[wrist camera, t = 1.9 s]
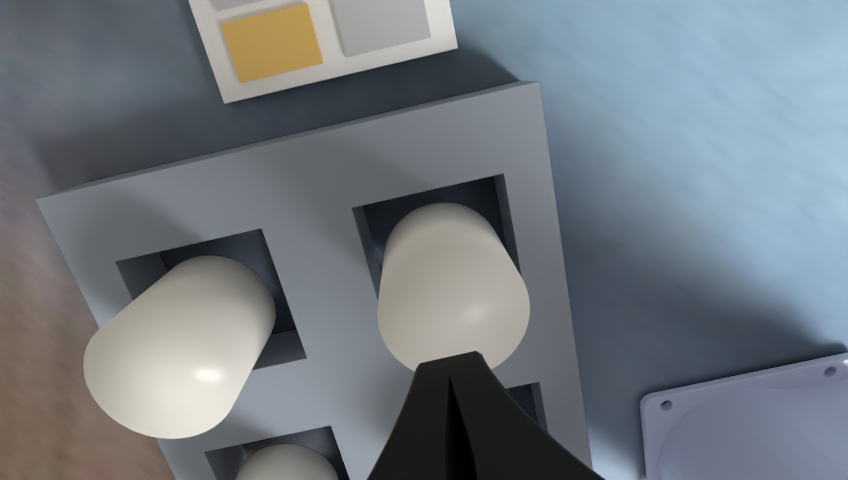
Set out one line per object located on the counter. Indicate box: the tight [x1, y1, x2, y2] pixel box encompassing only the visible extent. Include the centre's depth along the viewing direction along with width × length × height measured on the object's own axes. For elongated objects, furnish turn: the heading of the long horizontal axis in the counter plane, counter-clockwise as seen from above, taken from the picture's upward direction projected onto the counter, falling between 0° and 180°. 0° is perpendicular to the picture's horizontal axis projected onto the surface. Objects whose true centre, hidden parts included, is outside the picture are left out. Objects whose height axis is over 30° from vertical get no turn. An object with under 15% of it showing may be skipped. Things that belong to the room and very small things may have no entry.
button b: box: [377, 202, 530, 372], centre depth 14 cm, size 4×4×4 cm
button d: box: [83, 255, 276, 439], centre depth 15 cm, size 4×4×4 cm
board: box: [35, 81, 593, 480], centre depth 19 cm, size 16×18×2 cm
